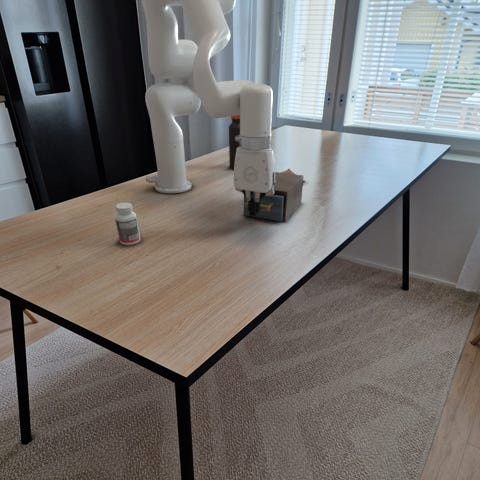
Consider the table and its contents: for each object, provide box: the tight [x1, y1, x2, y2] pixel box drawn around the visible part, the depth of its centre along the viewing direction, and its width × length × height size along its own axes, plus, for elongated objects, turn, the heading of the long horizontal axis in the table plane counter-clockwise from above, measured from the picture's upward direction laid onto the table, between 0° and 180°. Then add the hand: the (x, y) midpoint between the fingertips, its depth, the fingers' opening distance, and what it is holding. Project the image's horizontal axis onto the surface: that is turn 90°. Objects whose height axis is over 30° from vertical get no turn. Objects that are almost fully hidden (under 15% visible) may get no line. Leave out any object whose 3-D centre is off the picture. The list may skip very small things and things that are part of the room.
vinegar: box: [228, 115, 240, 170], centre depth 154 cm, size 7×7×20 cm
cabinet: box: [245, 171, 304, 223], centre depth 123 cm, size 16×13×9 cm
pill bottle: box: [114, 202, 141, 246], centre depth 105 cm, size 5×5×10 cm
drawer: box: [243, 192, 284, 222], centre depth 119 cm, size 19×12×7 cm, turn 156°
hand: (254, 214), depth 111 cm, fingers closed
